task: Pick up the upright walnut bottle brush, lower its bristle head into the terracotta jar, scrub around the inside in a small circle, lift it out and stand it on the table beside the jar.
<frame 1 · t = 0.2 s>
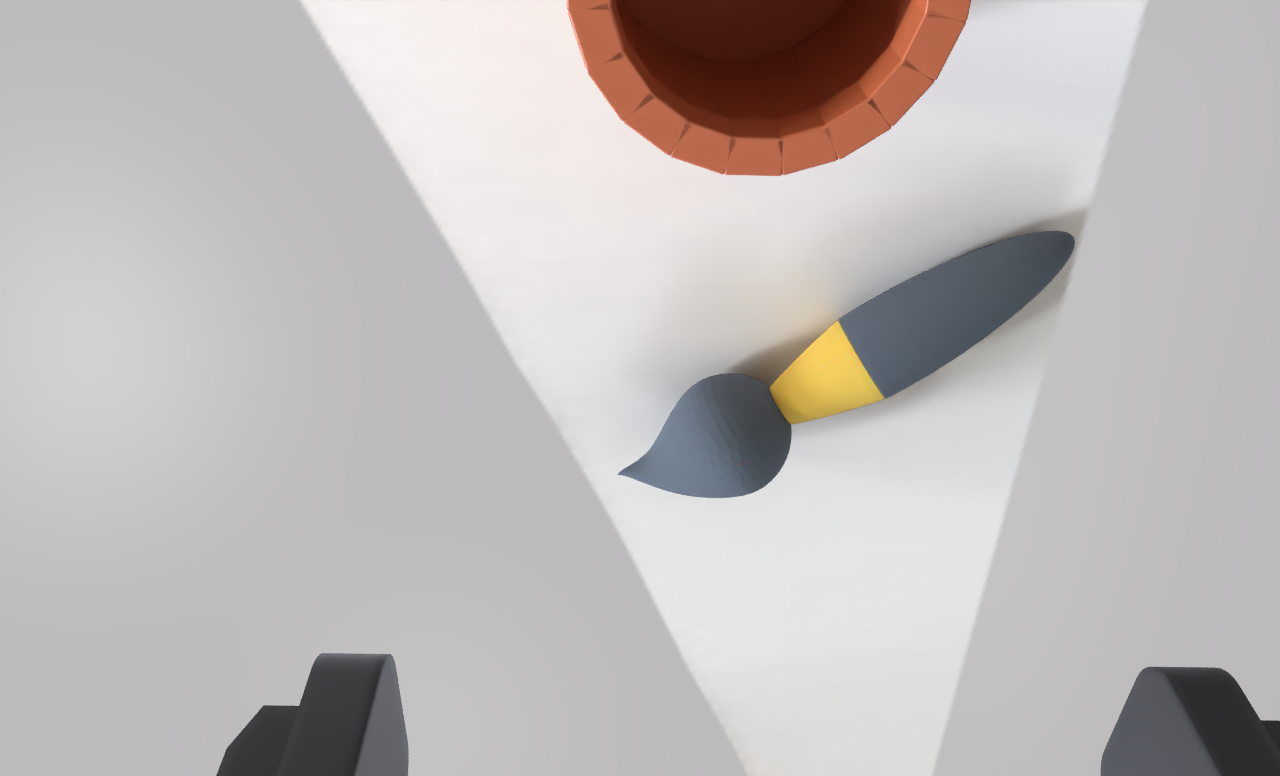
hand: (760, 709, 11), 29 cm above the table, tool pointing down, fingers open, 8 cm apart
paintbrush: (825, 334, 42), on the table
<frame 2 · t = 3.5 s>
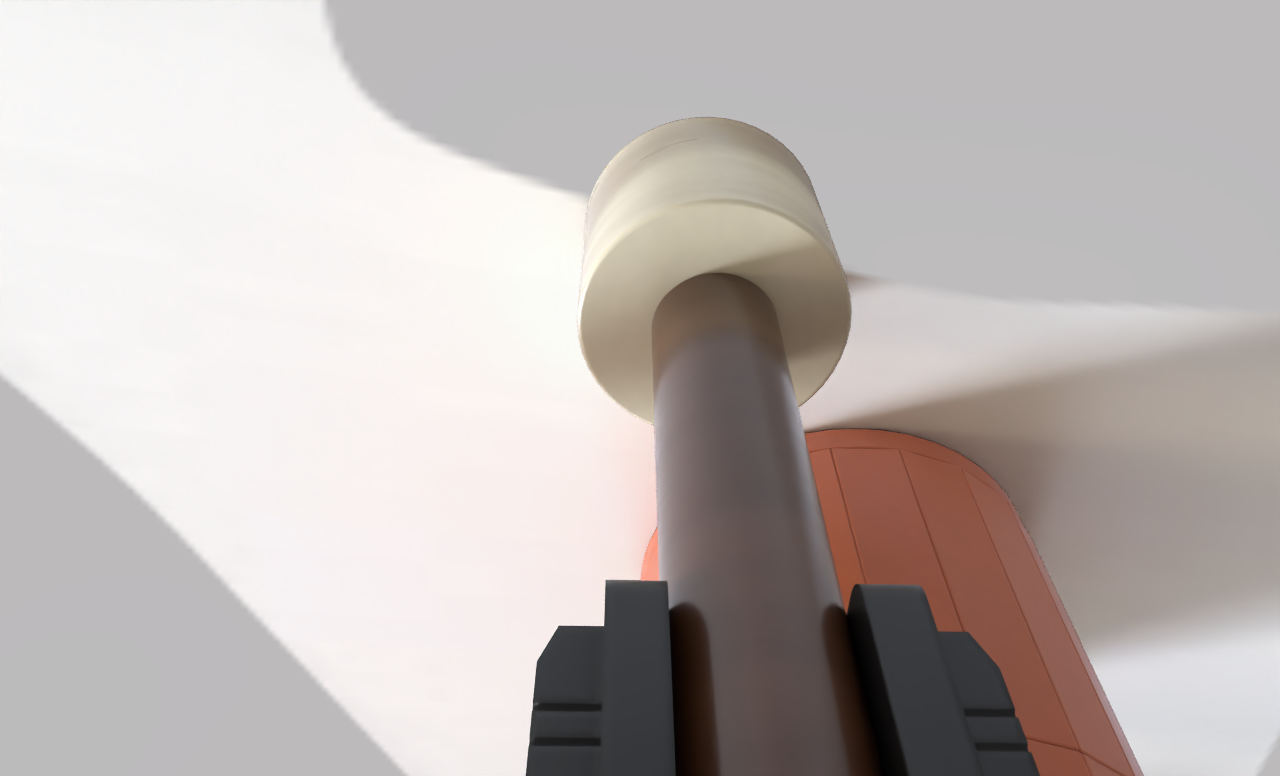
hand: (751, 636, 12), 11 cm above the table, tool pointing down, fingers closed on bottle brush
bottle brush: (701, 228, 21), on the table, touching gripper
jar: (830, 580, 27), on the table
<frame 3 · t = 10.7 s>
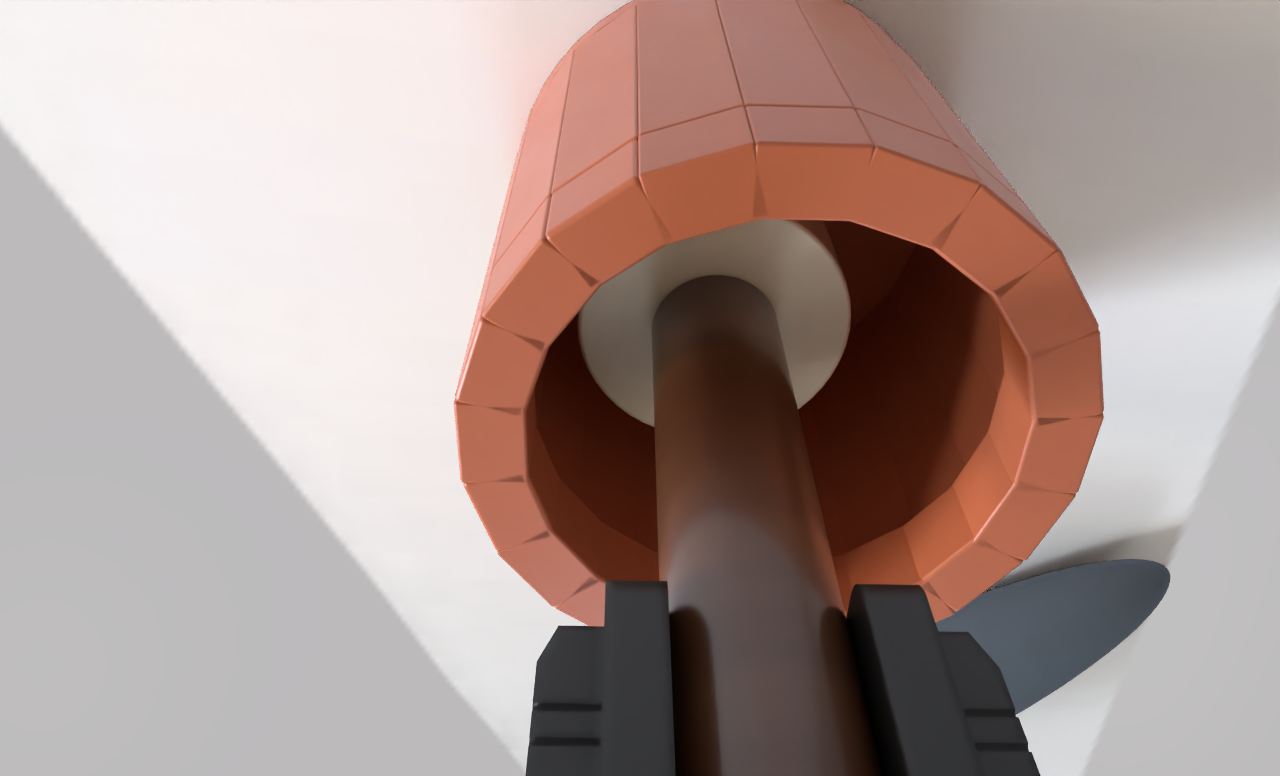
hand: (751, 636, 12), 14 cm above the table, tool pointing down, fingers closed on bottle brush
paintbrush: (843, 652, 34), on the table
bottle brush: (701, 230, 21), point 3 cm above the table, touching gripper
jar: (727, 194, 24), on the table
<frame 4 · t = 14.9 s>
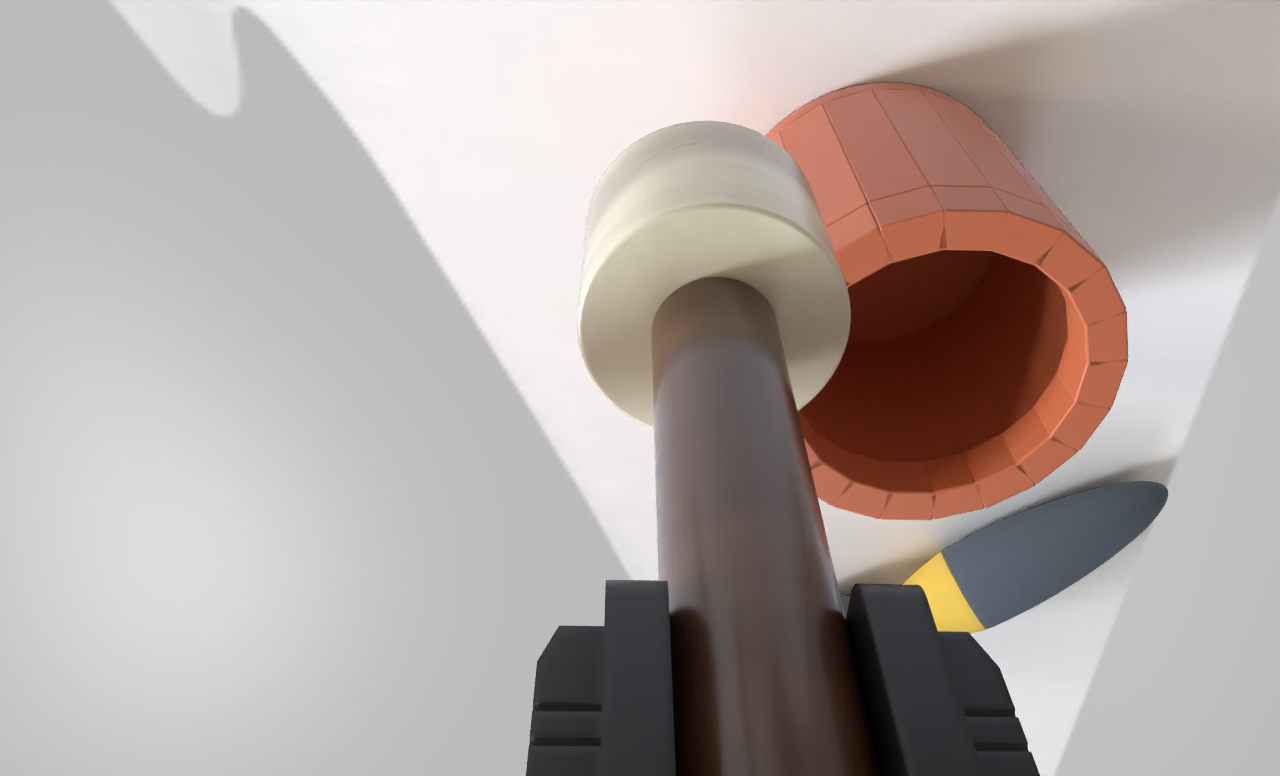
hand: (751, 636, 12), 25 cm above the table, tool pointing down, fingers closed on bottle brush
paintbrush: (925, 556, 45), on the table
bottle brush: (701, 232, 21), point 14 cm above the table, touching gripper
jar: (867, 222, 36), on the table
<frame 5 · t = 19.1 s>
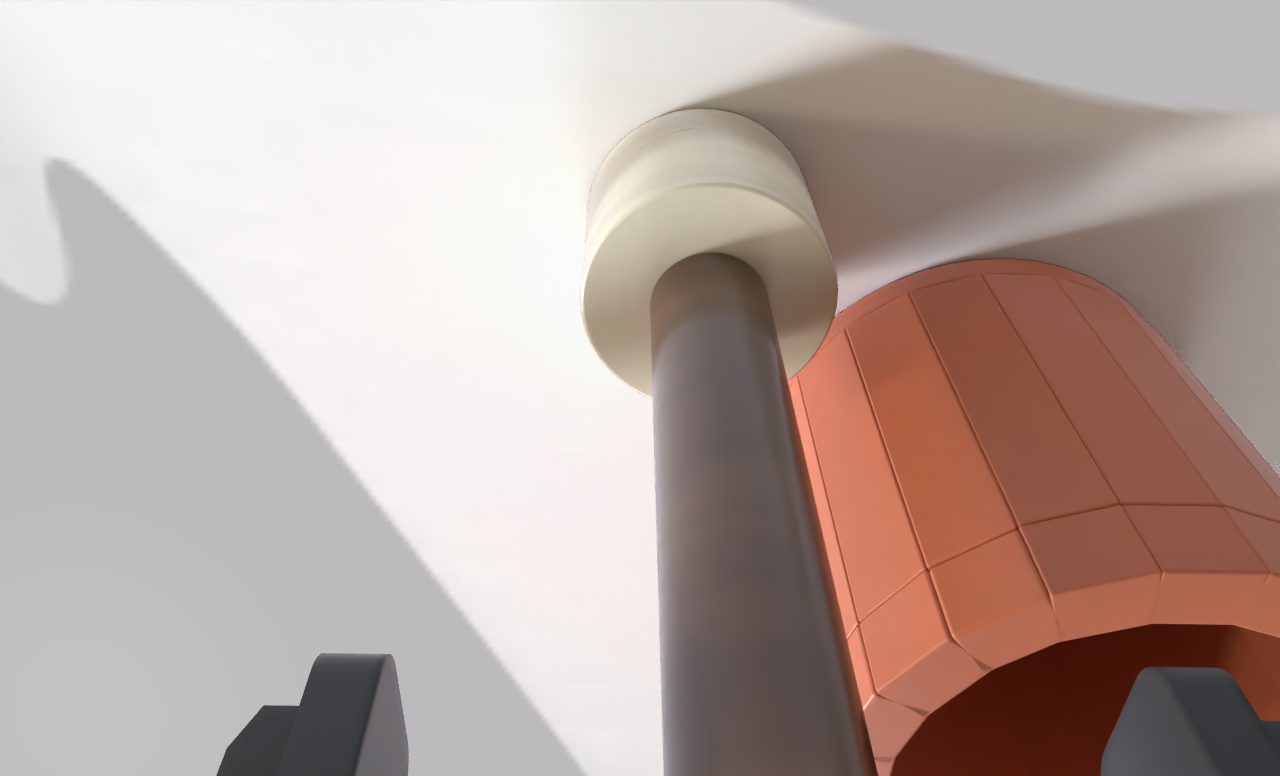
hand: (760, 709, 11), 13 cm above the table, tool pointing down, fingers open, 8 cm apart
bottle brush: (697, 215, 22), on the table
jar: (960, 436, 26), on the table
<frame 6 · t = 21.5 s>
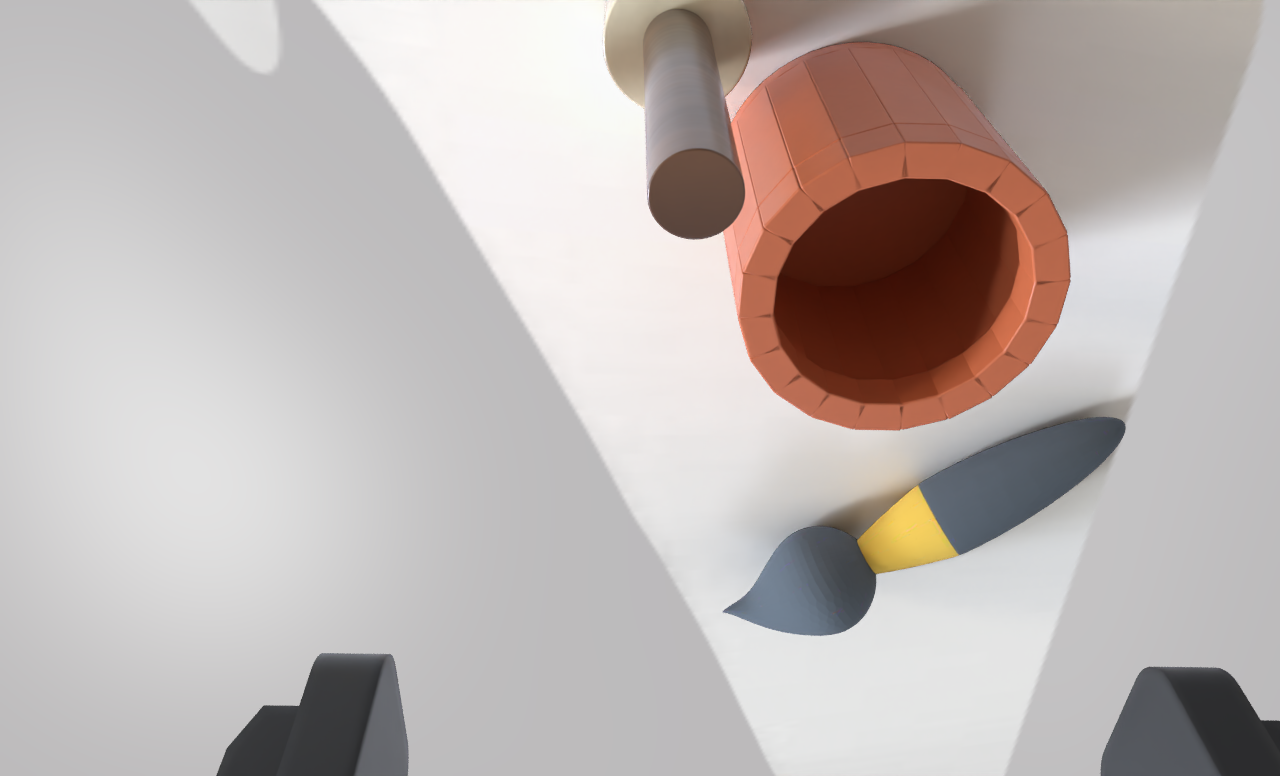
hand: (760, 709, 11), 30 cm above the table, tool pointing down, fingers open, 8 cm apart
paintbrush: (904, 491, 49), on the table
bottle brush: (673, 11, 36), on the table
jar: (846, 172, 40), on the table
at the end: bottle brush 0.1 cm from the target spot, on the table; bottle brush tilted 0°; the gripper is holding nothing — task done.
